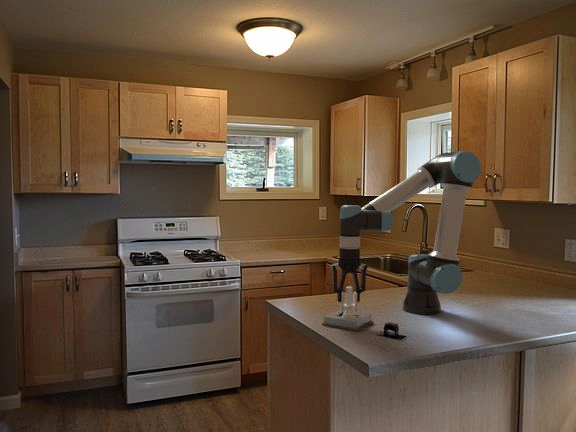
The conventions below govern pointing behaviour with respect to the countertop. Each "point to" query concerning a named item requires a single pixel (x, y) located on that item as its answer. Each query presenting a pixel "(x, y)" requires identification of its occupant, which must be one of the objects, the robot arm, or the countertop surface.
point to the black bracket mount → (394, 335)
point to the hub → (348, 320)
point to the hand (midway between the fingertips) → (348, 310)
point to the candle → (349, 303)
